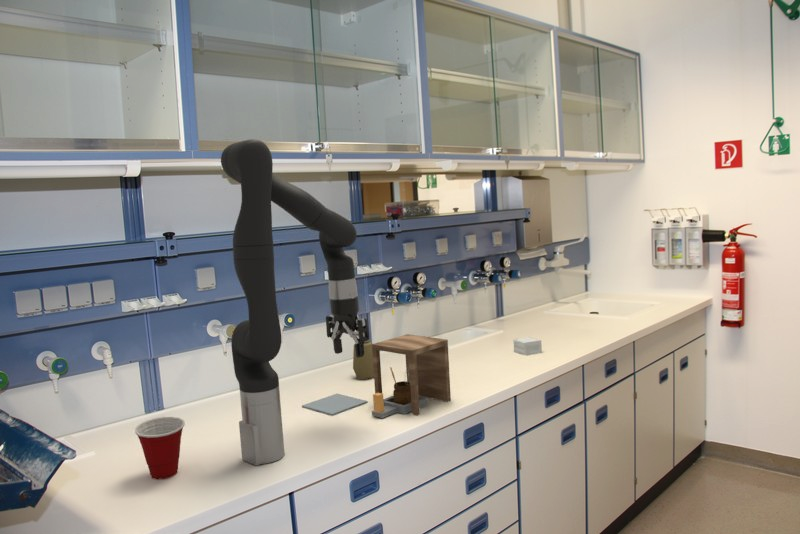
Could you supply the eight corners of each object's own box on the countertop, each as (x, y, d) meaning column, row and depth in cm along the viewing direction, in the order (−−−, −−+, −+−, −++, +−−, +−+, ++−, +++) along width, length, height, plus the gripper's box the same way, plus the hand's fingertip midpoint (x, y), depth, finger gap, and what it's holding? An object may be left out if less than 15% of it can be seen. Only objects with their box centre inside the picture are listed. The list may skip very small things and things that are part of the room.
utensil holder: (414, 409, 178) (412, 368, 177) (392, 410, 178) (390, 370, 177) (414, 403, 184) (412, 363, 183) (393, 404, 184) (390, 364, 183)
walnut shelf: (416, 415, 173) (412, 350, 171) (375, 405, 184) (371, 344, 182) (450, 400, 184) (447, 339, 183) (410, 392, 195) (407, 334, 194)
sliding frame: (389, 420, 170) (388, 398, 169) (364, 413, 177) (363, 392, 176) (427, 404, 181) (426, 383, 181) (402, 398, 188) (401, 378, 188)
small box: (542, 353, 235) (541, 340, 235) (524, 356, 232) (524, 342, 232) (530, 349, 242) (530, 336, 242) (513, 352, 239) (512, 339, 239)
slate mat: (332, 415, 177) (332, 414, 177) (301, 407, 187) (301, 405, 187) (367, 402, 187) (367, 401, 187) (337, 394, 197) (337, 393, 197)
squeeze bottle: (381, 376, 216) (378, 325, 214) (365, 382, 210) (361, 329, 208) (365, 373, 221) (362, 323, 219) (348, 378, 215) (345, 327, 213)
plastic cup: (146, 489, 136) (140, 436, 134) (134, 474, 144) (129, 424, 143) (195, 474, 142) (191, 424, 141) (181, 460, 151) (176, 412, 150)
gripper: (315, 296, 167) (321, 355, 169) (351, 299, 158) (357, 361, 159) (336, 291, 173) (342, 348, 175) (372, 294, 163) (377, 354, 165)
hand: (349, 354), depth 167 cm, fingers open, 8 cm apart
